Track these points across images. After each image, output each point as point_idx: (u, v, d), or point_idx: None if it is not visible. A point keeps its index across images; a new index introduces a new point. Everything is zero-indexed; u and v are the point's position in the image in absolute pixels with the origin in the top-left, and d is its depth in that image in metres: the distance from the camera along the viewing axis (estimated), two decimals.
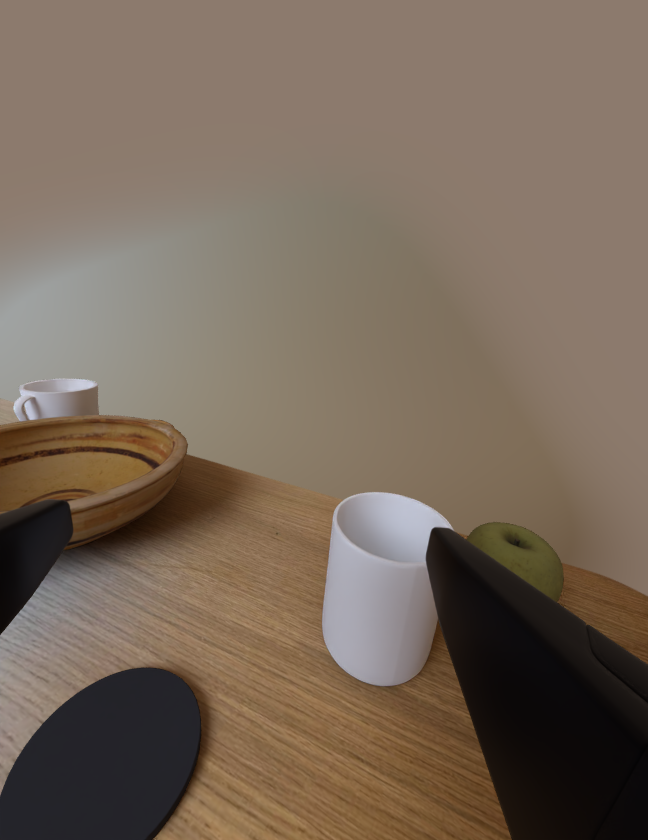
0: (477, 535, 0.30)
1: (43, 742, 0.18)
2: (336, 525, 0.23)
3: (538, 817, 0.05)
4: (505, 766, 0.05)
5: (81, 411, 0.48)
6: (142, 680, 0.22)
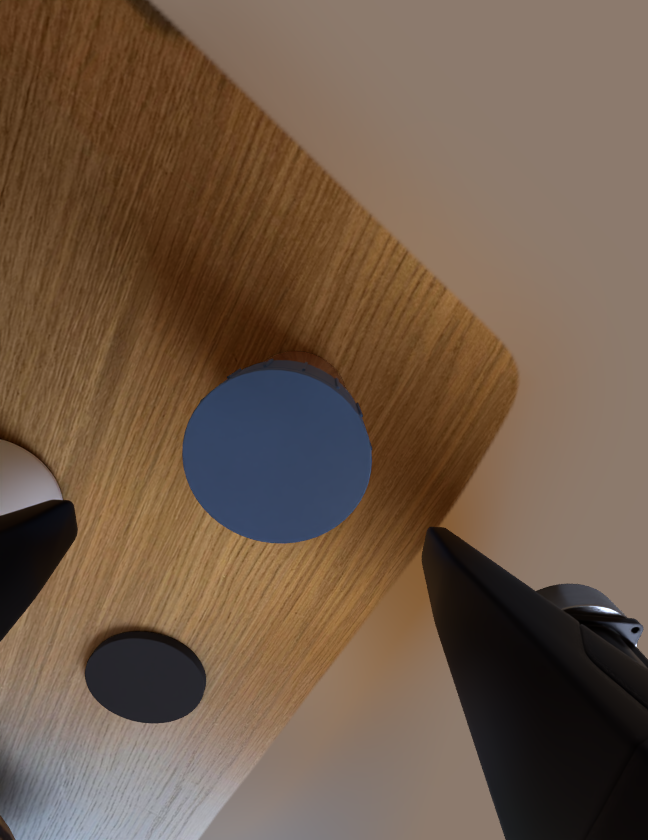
0: None
1: (144, 716, 0.27)
2: None
3: (531, 816, 0.05)
4: (498, 766, 0.05)
5: None
6: (96, 681, 0.26)
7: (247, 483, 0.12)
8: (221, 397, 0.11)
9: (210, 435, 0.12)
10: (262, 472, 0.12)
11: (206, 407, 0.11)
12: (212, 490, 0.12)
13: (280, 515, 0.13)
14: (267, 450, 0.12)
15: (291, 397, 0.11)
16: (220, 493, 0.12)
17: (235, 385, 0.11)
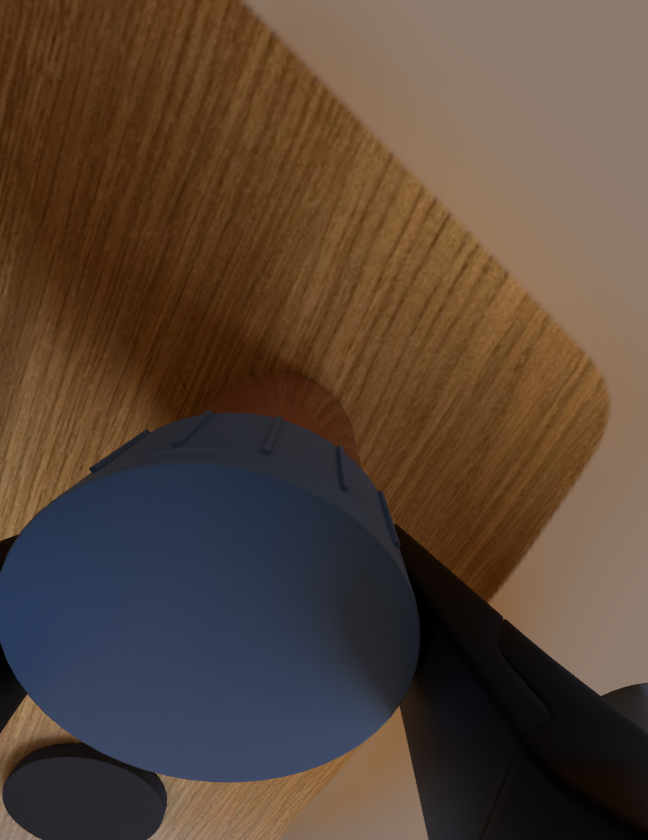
0: None
1: None
2: None
3: (445, 813, 0.05)
4: (423, 762, 0.05)
5: None
6: (18, 806, 0.20)
7: (151, 686, 0.06)
8: (66, 525, 0.05)
9: (54, 601, 0.05)
10: (181, 668, 0.06)
11: (34, 546, 0.05)
12: (77, 700, 0.06)
13: (226, 740, 0.06)
14: (188, 628, 0.05)
15: (235, 523, 0.05)
16: (95, 705, 0.06)
17: (97, 498, 0.05)
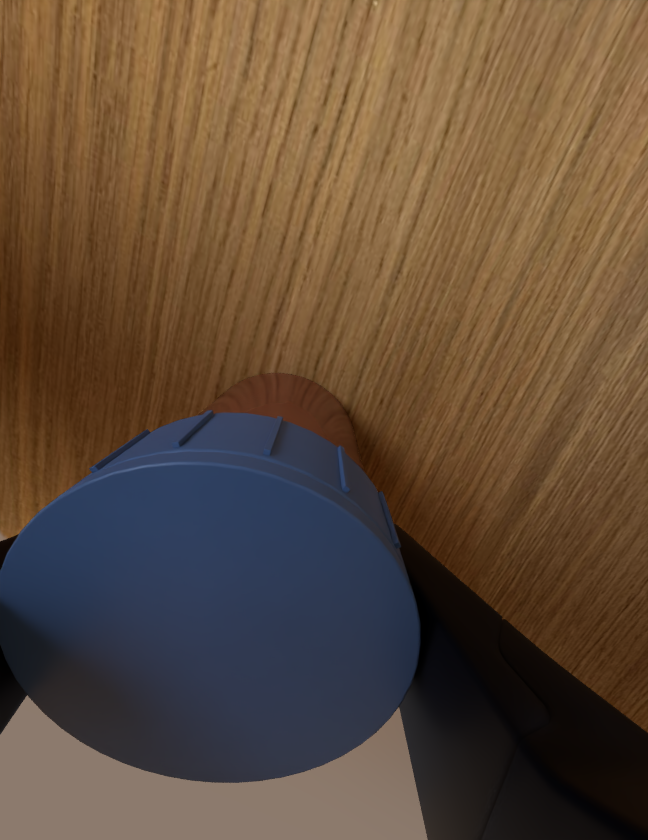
0: None
1: None
2: None
3: (444, 812, 0.05)
4: (423, 761, 0.05)
5: None
6: None
7: (150, 687, 0.06)
8: (66, 525, 0.05)
9: (54, 601, 0.05)
10: (181, 668, 0.06)
11: (33, 546, 0.05)
12: (76, 700, 0.06)
13: (226, 740, 0.06)
14: (188, 629, 0.05)
15: (235, 524, 0.05)
16: (94, 705, 0.06)
17: (97, 498, 0.05)
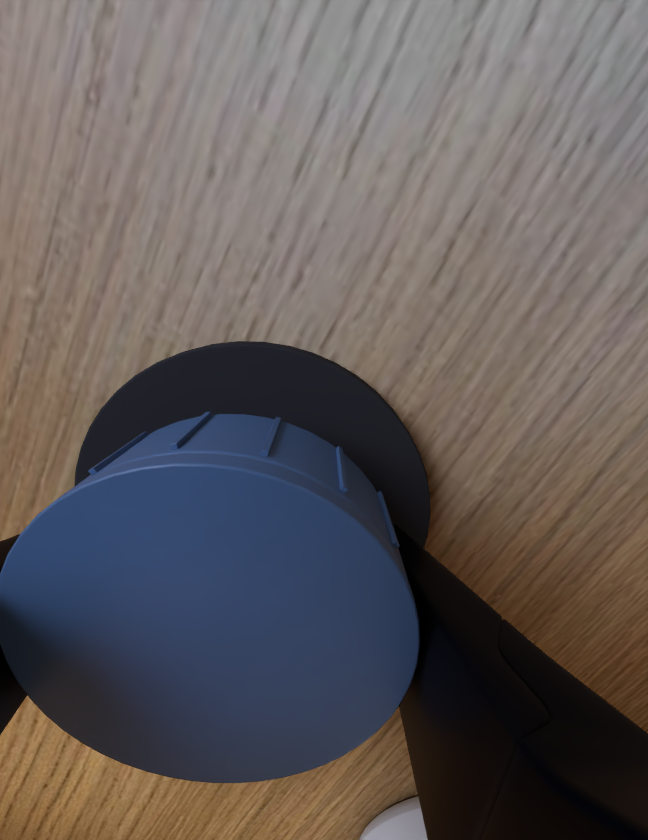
0: None
1: (269, 383, 0.08)
2: None
3: (444, 812, 0.05)
4: (423, 762, 0.05)
5: None
6: None
7: (151, 689, 0.06)
8: (65, 527, 0.05)
9: (54, 603, 0.05)
10: (181, 669, 0.06)
11: (33, 548, 0.05)
12: (77, 702, 0.06)
13: (226, 741, 0.06)
14: (187, 630, 0.05)
15: (234, 525, 0.05)
16: (95, 707, 0.06)
17: (96, 500, 0.05)
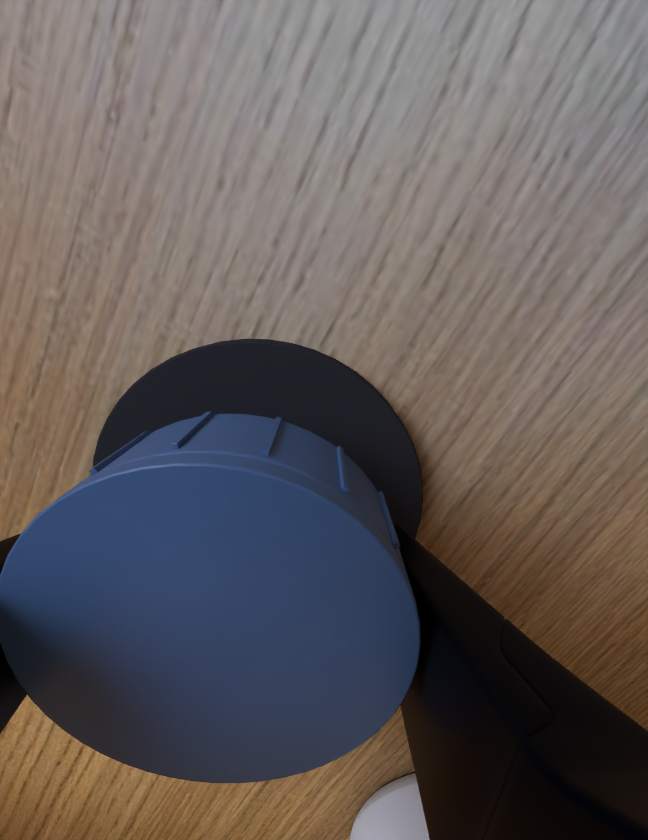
0: None
1: (273, 377, 0.08)
2: None
3: (446, 812, 0.05)
4: (425, 762, 0.05)
5: None
6: (391, 514, 0.09)
7: (151, 688, 0.06)
8: (66, 526, 0.05)
9: (54, 603, 0.05)
10: (181, 669, 0.06)
11: (34, 548, 0.05)
12: (78, 702, 0.06)
13: (227, 741, 0.06)
14: (188, 630, 0.05)
15: (234, 524, 0.05)
16: (96, 706, 0.06)
17: (96, 500, 0.05)
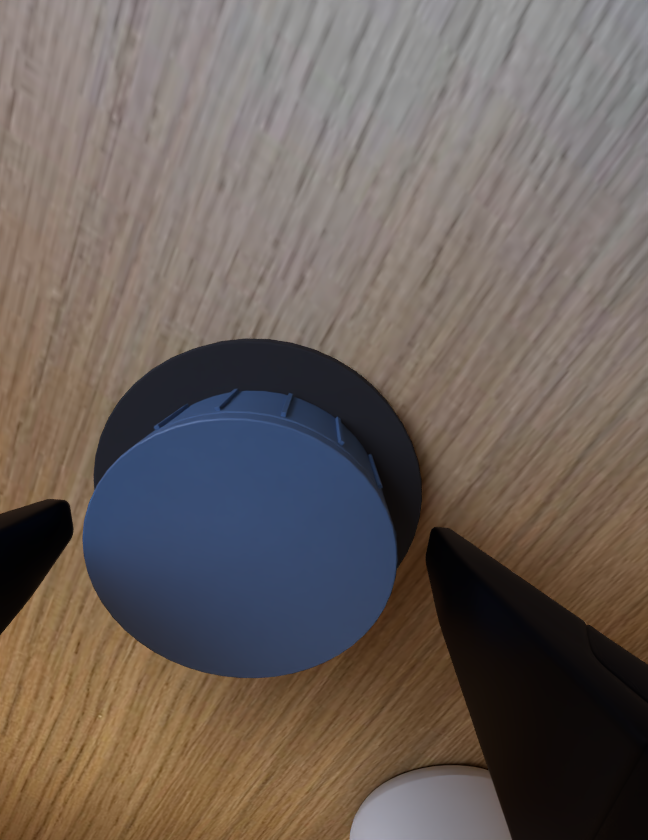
0: None
1: (273, 376, 0.08)
2: None
3: (538, 817, 0.05)
4: (505, 766, 0.05)
5: None
6: (390, 512, 0.10)
7: (195, 595, 0.08)
8: (140, 465, 0.07)
9: (127, 525, 0.07)
10: (218, 579, 0.07)
11: (116, 481, 0.07)
12: (138, 606, 0.08)
13: (250, 640, 0.08)
14: (224, 547, 0.07)
15: (261, 464, 0.07)
16: (151, 610, 0.08)
17: (163, 445, 0.06)
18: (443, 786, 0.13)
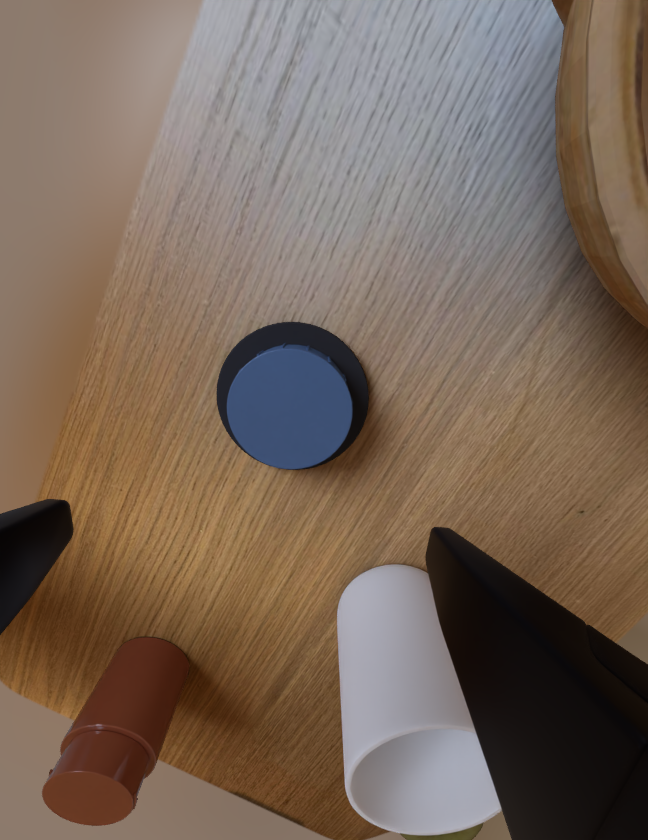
0: None
1: (300, 338, 0.19)
2: (432, 727, 0.15)
3: (538, 817, 0.05)
4: (505, 766, 0.05)
5: None
6: (354, 404, 0.20)
7: (270, 426, 0.18)
8: (253, 367, 0.17)
9: (245, 393, 0.18)
10: (279, 418, 0.18)
11: (243, 374, 0.18)
12: (246, 431, 0.18)
13: (291, 448, 0.19)
14: (283, 403, 0.18)
15: (299, 367, 0.17)
16: (251, 433, 0.19)
17: (263, 359, 0.17)
18: (388, 568, 0.24)
